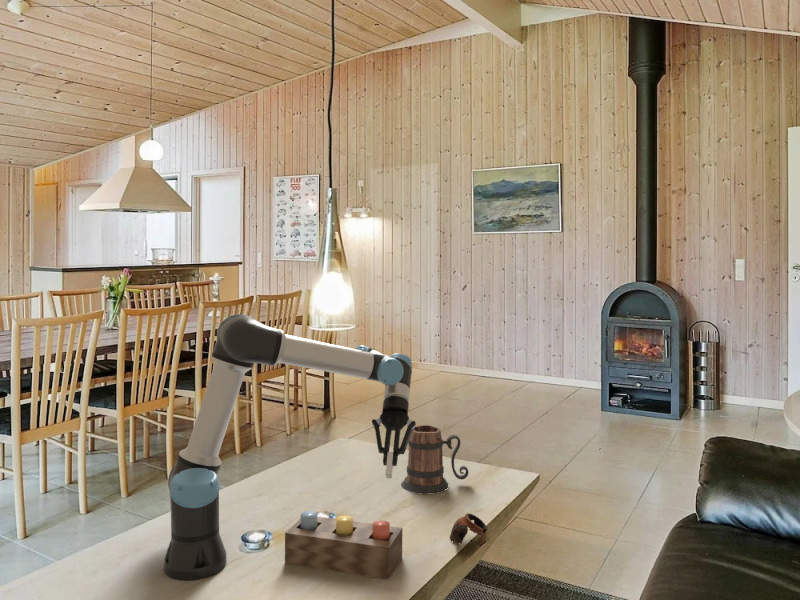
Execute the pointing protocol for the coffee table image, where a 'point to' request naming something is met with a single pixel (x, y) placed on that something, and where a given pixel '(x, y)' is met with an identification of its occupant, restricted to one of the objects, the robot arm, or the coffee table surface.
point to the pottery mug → (461, 528)
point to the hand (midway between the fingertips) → (388, 475)
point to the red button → (381, 530)
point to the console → (344, 549)
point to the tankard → (428, 461)
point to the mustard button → (344, 525)
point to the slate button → (309, 520)
